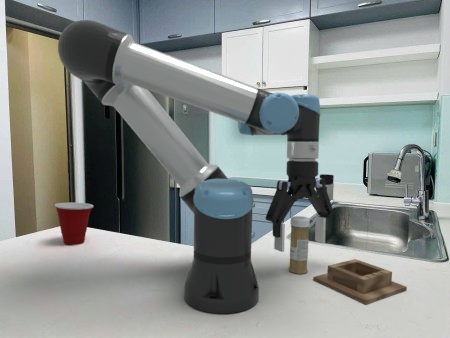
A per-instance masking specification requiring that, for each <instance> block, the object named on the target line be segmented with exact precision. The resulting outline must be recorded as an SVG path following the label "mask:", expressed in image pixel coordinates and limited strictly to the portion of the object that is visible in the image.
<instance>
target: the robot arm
mask: <svg viewBox="0 0 450 338" xmlns="http://www.w3.org/2000/svg"><path fill="white" fill-rule="evenodd" d="M57 53H58V56H59V59H60V61H61V63H62V65H63V67H64V69H66V70H67V71H68V73H70V74H71V75H72V76H73V77H76V78H78V79H79V80H80V81H82V82H84V84H85V85H86V86H87V87H88V89H89V90H91V92H92V93H93V94H94V95H95V97H96V98H97V99H98V100H99V102H101V104H102V105H103V106H111V107H113V108H114V109H115V110H116V111H117V112H118V113H119V115H120V117H122V118H123V120H124V121H125V122H126V124H127V125H128V126H129V127H130V128H131V130H132V131H133V132H134V133H135V135H137V136H138V138H139V140H141V142H143V144H144V145H145V147H146V148H147V149H148V150H149V151H150V153H151V154H152V155H153V156H154V157H155V158H156V159H157V161H158V162H159V163H160V165H161V167H163V168H164V169H165V171H166V172H167V173H168V174H169V176H171V178H172V179H173V180H174V181H175V183H176V184H177V185H178V187H179V197H180V199H181V200H182V201H183V202H184V204H185V205H186V206H187V207H188V208H189V210H190V211H191V212H192V213H193V259H192V263H191V265H190V269H189V272H188V274H187V277H186V281H185V283H184V291H183V292H184V293H183V294H184V295H183V296H184V297H183V298H184V300H185V302H186V303H187V304H188V305H189V306H191V307H192V308H194V309H196V310H199V311H201V312H207V313H214V314H232V313H233V314H234V313H239V312H242V311H247V310H249V309H251V308H253V307H254V306H255V305H256V304H257V303H258V302H259V297H260V296H259V295H260V294H259V293H260V289H259V288H260V287H259V283H258V280H257V277H256V276H257V275H256V273H255V269H254V266H253V262H252V236H253V235H252V234H253V233H252V231H253V207H254V197H253V189H252V187H251V186H250V185H249V184H248V183H246V182H244V181H239V180H237V179H231V178H228V176H226V174H225V173H224V172H223V170H222V169H221V168H220V166H218V164H210V163H208V162H207V161H206V159H205V158H204V157H203V156H202V154H201V153H200V151H198V149H197V148H196V147H195V146H194V145H193V143H192V142H191V141H190V139H188V137H187V136H186V135H185V133H184V132H183V131H182V129H181V128H180V126H178V125H177V124H176V122H175V121H174V120H173V118H172V117H171V116H170V115H169V113H167V111H166V110H165V109H164V108H163V106H162V105H161V103H159V101H158V100H157V98H155V96H154V95H153V94H152V93H153V92H154V93H156V94H159V95H162V96H165V97H167V98H170V99H174V100H176V101H179V102H181V103H185V104H187V105H189V106H193V107H196V108H200V109H202V110H204V111H207V112H210V113H214V114H216V115H219V116H222V117H225V118H228V119H230V120H234V121H236V122H237V128H238V129H237V130H238V132H239V133H240V135H244V136H245V135H246V136H248V135H249V136H287V137H286V138H287V139H286V158H287V159H288V160H287V161H286V175H287V178H288V180H287V181H286V180H284V181H283V180H278V181H277V182H276V189H275V193H274V195H273V198H272V201H271V203H270V205H269V208H268V210H267V213H266V215H265V220H266V221H268V222H270V223H272V237H274V238H273V239H274V241H273V243H274V244H273V245H274V247H273V249H274V250H276V251H279V252H281V253H283V252H285V233H286V230H285V229H286V226H285V225H286V224H285V223H283V222H284V220H285V218H286V217H287V215H288V214H289V212H290V210H291V209H292V208H293V205H294V204H295V202H298V200H304V199H308V201H309V203H310V204H311V206H312V207H313V209H314V210H315V212H316V214H317V215H316V216H315V223H314V224H315V227H314V228H315V229H314V232H315V233H314V241H315V242H317V243H320V244H326V230H327V227H328V226H327V225H328V224H327V222H328V219H329V218H331V217H332V215H333V214H334V209H333V205H332V203H331V202H330V199H329V196H328V193H327V190H326V185H325V179H320V177H318V175H319V162H318V159H319V150H320V149H319V145H320V144H319V141H320V125H321V123H320V120H321V119H320V118H321V104H320V98H319V97H318V96H317V95H315V94H311V93H310V94H308V93H305V94H304V93H302V94H299V93H298V94H293V95H292V94H291V95H290V94H288V93H285V92H273V93H272V92H270V91H267V90H264V89H261V88H258V87H255V86H253V85H251V84H248V83H246V82H242V81H240V80H238V79H234V78H231V77H230V76H227V75H224V74H221V73H219V72H216V71H213V70H211V69H207V68H206V67H205V68H204V67H202V66H200V65H196V64H194V63H191V62H189V61H186V60H183V59H181V58H178V57H176V56H172V55H170V54H167V53H164V52H162V51H159V50H157V49H153V48H151V47H149V46H145V45H143V44H139V43H137V42H135V40H134V38H133V36H132V35H131V34H129V33H126V32H124V31H120V30H119V29H116V28H115V27H114V28H113V27H111V26H109V25H106V24H103V23H101V22H98V21H96V20H91V19H81V20H77V21H74V22H72V23H70V24H68V25H67V26H66V27H65V28H64V29H63V31H62V32H61V33H60V35H59V38H58V43H57ZM150 91H151V92H152V93H151V92H150Z"/></svg>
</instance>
